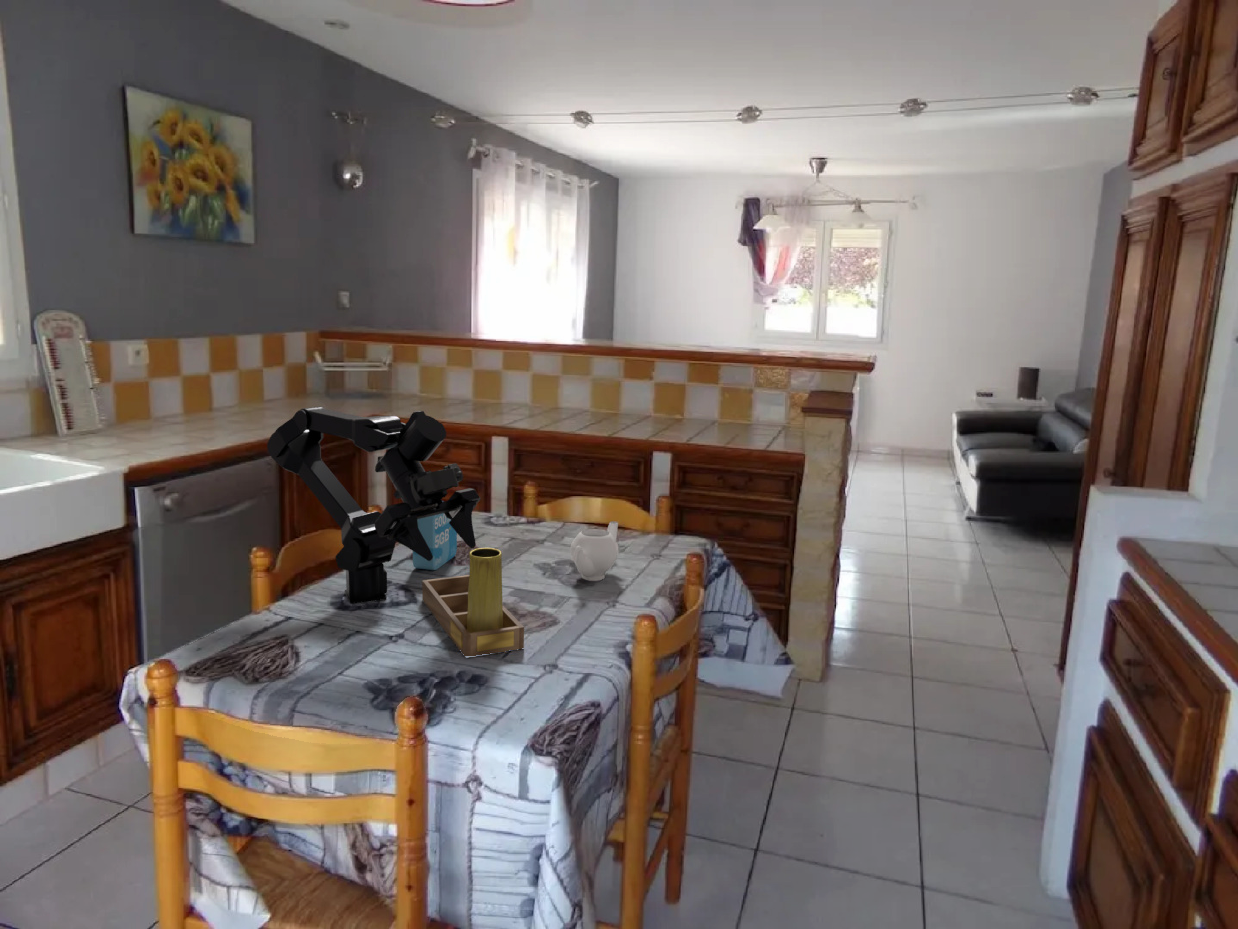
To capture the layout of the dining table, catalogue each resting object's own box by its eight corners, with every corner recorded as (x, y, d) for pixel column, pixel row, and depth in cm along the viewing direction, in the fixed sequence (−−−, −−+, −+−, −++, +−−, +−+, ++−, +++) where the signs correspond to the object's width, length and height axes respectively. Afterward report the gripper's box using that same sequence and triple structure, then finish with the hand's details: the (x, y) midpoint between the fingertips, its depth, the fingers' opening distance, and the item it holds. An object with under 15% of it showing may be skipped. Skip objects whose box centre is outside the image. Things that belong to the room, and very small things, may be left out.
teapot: (549, 588, 167) (550, 541, 165) (593, 559, 185) (595, 518, 183) (593, 596, 163) (595, 549, 161) (634, 567, 181) (636, 524, 179)
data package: (433, 572, 173) (432, 514, 171) (412, 570, 174) (411, 512, 172) (457, 555, 185) (457, 500, 182) (437, 553, 186) (437, 498, 183)
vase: (495, 626, 145) (495, 545, 142) (509, 639, 140) (510, 555, 137) (460, 632, 142) (460, 549, 139) (474, 646, 137) (474, 560, 134)
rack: (464, 659, 134) (464, 636, 134) (421, 600, 158) (421, 580, 158) (524, 649, 139) (524, 627, 138) (473, 593, 163) (473, 574, 162)
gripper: (383, 457, 136) (430, 538, 131) (472, 442, 150) (517, 515, 146) (355, 497, 142) (399, 576, 138) (443, 479, 156) (485, 551, 152)
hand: (453, 553), depth 143 cm, fingers open, 9 cm apart
